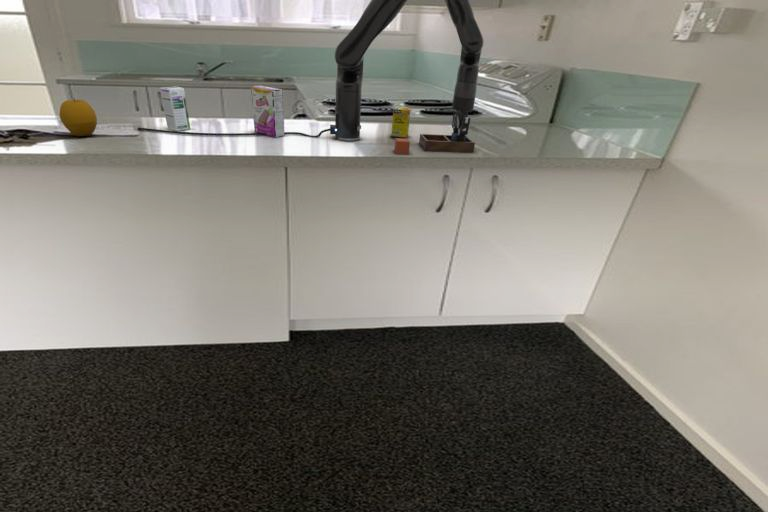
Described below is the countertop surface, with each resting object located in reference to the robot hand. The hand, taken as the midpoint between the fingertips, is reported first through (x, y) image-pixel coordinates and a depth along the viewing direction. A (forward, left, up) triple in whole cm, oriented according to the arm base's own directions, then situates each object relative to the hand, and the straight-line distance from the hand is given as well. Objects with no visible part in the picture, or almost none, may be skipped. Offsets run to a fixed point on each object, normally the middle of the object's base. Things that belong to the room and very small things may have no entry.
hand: (457, 143), depth 155 cm
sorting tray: (-4, 0, -2) cm, 5 cm away
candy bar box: (-69, +11, -2) cm, 70 cm away
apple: (-127, -2, -2) cm, 127 cm away
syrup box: (-102, +14, -2) cm, 103 cm away
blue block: (0, 0, -1) cm, 1 cm away
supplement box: (-19, +15, -2) cm, 24 cm away
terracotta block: (-22, -9, -2) cm, 24 cm away
